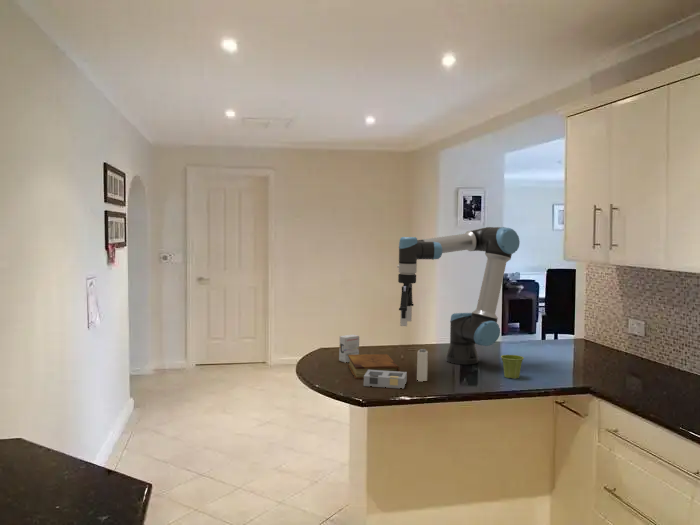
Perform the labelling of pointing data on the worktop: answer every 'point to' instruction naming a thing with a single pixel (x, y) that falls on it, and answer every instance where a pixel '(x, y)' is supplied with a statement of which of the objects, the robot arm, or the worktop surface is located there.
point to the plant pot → (512, 365)
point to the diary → (370, 364)
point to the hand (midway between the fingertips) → (406, 323)
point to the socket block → (385, 379)
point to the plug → (422, 364)
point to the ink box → (348, 347)
